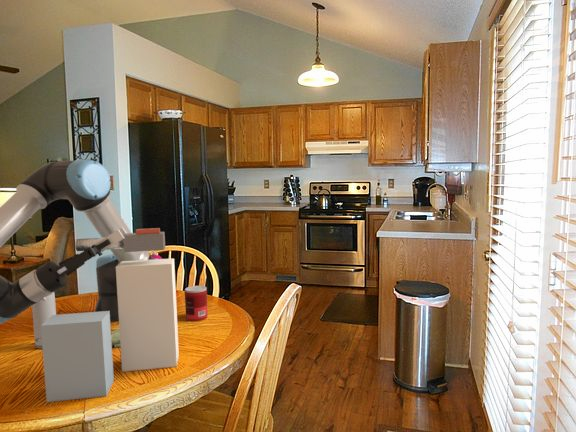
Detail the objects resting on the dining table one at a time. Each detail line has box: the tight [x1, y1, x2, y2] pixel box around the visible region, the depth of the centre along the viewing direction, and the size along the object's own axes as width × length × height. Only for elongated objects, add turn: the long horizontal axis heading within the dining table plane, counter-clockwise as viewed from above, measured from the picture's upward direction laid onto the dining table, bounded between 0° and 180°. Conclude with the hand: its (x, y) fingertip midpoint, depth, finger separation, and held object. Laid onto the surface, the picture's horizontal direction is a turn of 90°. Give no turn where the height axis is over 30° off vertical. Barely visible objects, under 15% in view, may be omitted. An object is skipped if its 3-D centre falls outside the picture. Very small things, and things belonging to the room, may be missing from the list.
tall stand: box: [116, 257, 180, 372], centre depth 120 cm, size 8×14×28 cm, turn 100°
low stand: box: [41, 311, 115, 403], centre depth 105 cm, size 8×13×18 cm, turn 100°
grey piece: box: [75, 227, 166, 252], centre depth 117 cm, size 4×22×6 cm, turn 100°
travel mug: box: [31, 292, 57, 350], centre depth 135 cm, size 6×7×20 cm
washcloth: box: [111, 328, 121, 349], centre depth 141 cm, size 13×18×3 cm
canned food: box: [184, 285, 209, 322], centre depth 159 cm, size 8×8×11 cm
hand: (123, 232), depth 117 cm, fingers closed on grey piece, 4 cm apart
